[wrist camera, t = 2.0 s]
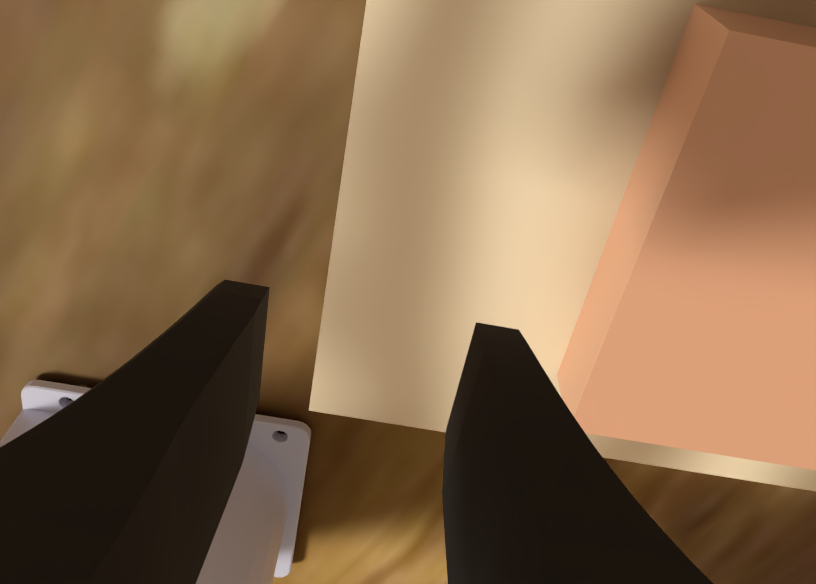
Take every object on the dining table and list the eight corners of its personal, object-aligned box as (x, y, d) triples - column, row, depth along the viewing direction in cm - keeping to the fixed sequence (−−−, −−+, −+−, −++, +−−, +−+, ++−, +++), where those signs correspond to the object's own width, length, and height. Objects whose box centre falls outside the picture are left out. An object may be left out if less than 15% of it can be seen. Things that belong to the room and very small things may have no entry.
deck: (328, 322, 23) (308, 410, 20) (408, -220, 15) (398, -228, 12) (820, 405, 24) (881, 502, 21) (1120, -66, 16) (1294, -34, 13)
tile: (556, 374, 19) (568, 430, 17) (695, 3, 14) (729, 30, 12) (784, 412, 19) (818, 470, 17) (996, 64, 14) (1070, 98, 13)
